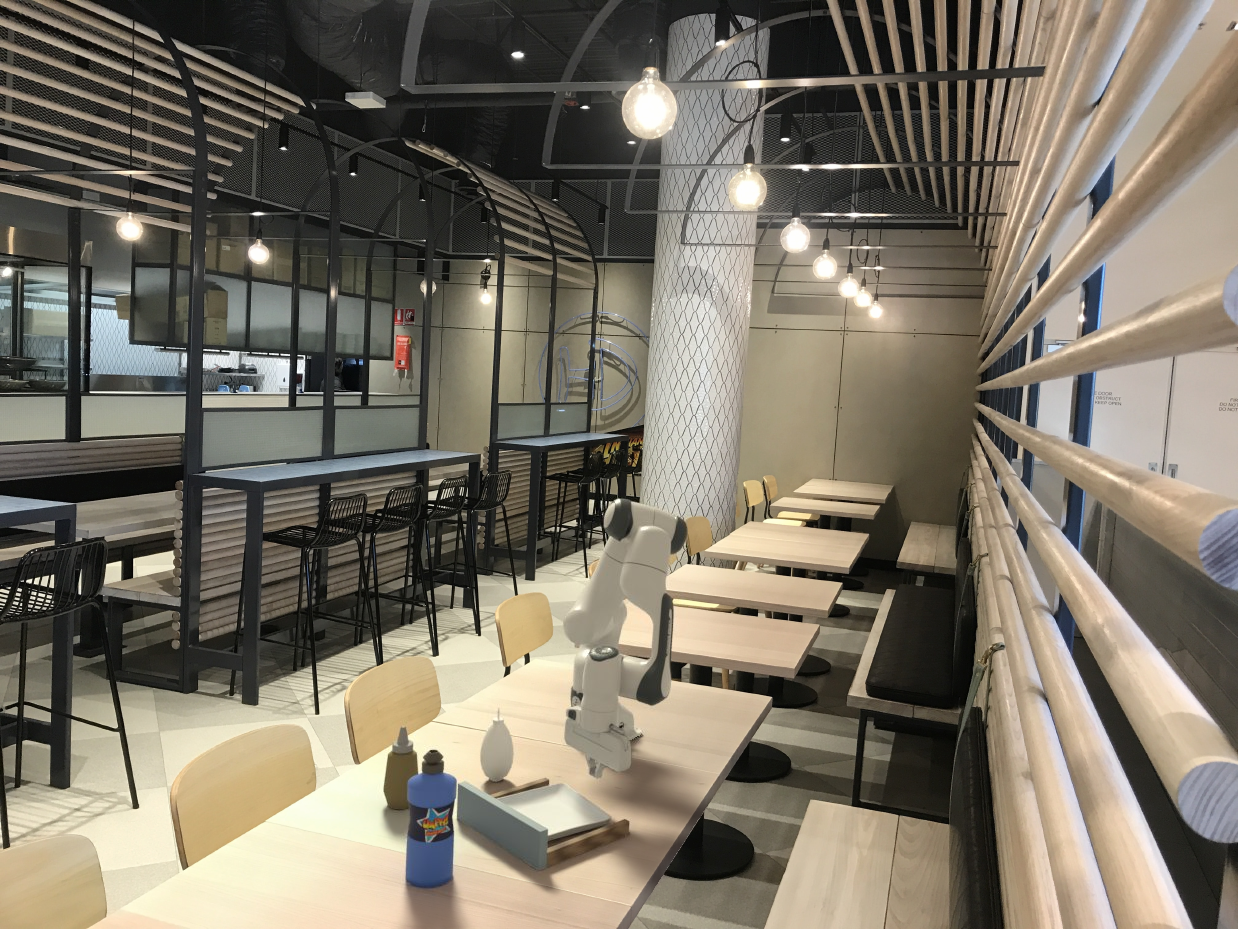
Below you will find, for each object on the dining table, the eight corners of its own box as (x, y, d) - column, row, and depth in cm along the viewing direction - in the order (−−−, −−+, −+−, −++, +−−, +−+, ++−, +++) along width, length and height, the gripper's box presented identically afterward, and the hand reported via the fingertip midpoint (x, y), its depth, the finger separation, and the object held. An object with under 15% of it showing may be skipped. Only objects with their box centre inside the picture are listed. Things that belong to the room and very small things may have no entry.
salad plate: (529, 855, 196) (530, 839, 196) (482, 815, 214) (482, 800, 213) (613, 831, 209) (614, 816, 208) (562, 795, 226) (562, 781, 226)
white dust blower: (518, 781, 232) (521, 708, 231) (493, 789, 226) (496, 716, 225) (498, 771, 237) (500, 700, 236) (473, 779, 232) (475, 707, 230)
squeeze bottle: (425, 800, 219) (428, 724, 217) (406, 815, 211) (409, 736, 210) (395, 794, 221) (397, 718, 220) (375, 808, 214) (377, 730, 212)
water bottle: (400, 868, 188) (404, 745, 186) (447, 861, 192) (451, 740, 190) (409, 892, 179) (413, 763, 177) (458, 884, 183) (463, 757, 181)
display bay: (544, 789, 228) (546, 757, 227) (628, 834, 207) (630, 799, 206) (456, 818, 210) (457, 783, 210) (538, 870, 189) (540, 831, 189)
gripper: (639, 730, 213) (635, 789, 215) (582, 702, 229) (578, 758, 230) (618, 735, 209) (614, 796, 210) (561, 707, 224) (557, 764, 226)
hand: (595, 776), depth 220 cm, fingers closed
